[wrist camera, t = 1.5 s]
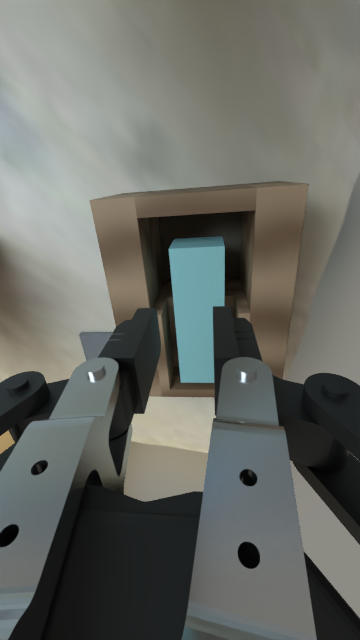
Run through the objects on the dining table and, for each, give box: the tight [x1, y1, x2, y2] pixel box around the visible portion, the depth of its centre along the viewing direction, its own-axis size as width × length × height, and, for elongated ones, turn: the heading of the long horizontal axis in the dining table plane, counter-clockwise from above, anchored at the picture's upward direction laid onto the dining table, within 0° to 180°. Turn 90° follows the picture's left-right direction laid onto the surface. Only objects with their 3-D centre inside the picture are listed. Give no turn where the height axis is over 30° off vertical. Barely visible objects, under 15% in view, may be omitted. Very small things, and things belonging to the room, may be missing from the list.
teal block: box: [169, 236, 225, 383], centre depth 27 cm, size 14×4×4 cm, turn 4°
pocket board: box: [90, 181, 309, 397], centre depth 28 cm, size 20×16×9 cm
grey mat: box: [79, 332, 113, 361], centre depth 39 cm, size 10×10×1 cm
